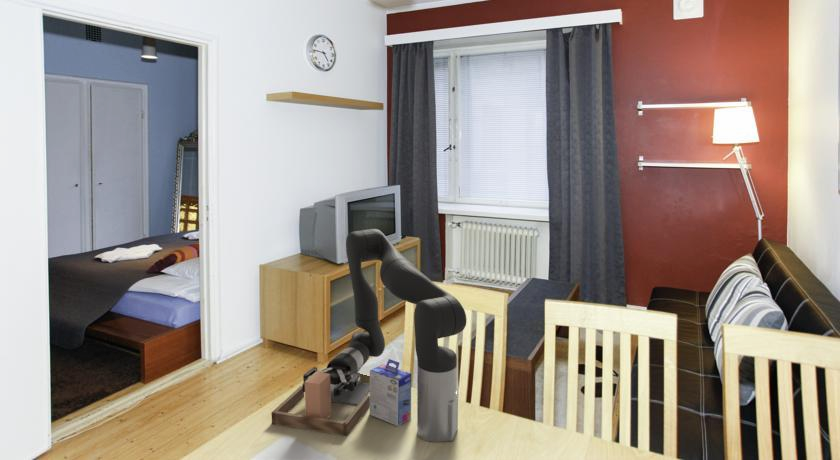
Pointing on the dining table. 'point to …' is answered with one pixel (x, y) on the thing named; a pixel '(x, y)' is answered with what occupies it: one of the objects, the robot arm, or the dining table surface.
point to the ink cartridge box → (390, 393)
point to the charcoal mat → (351, 394)
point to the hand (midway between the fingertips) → (319, 390)
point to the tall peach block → (318, 395)
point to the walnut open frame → (315, 423)
